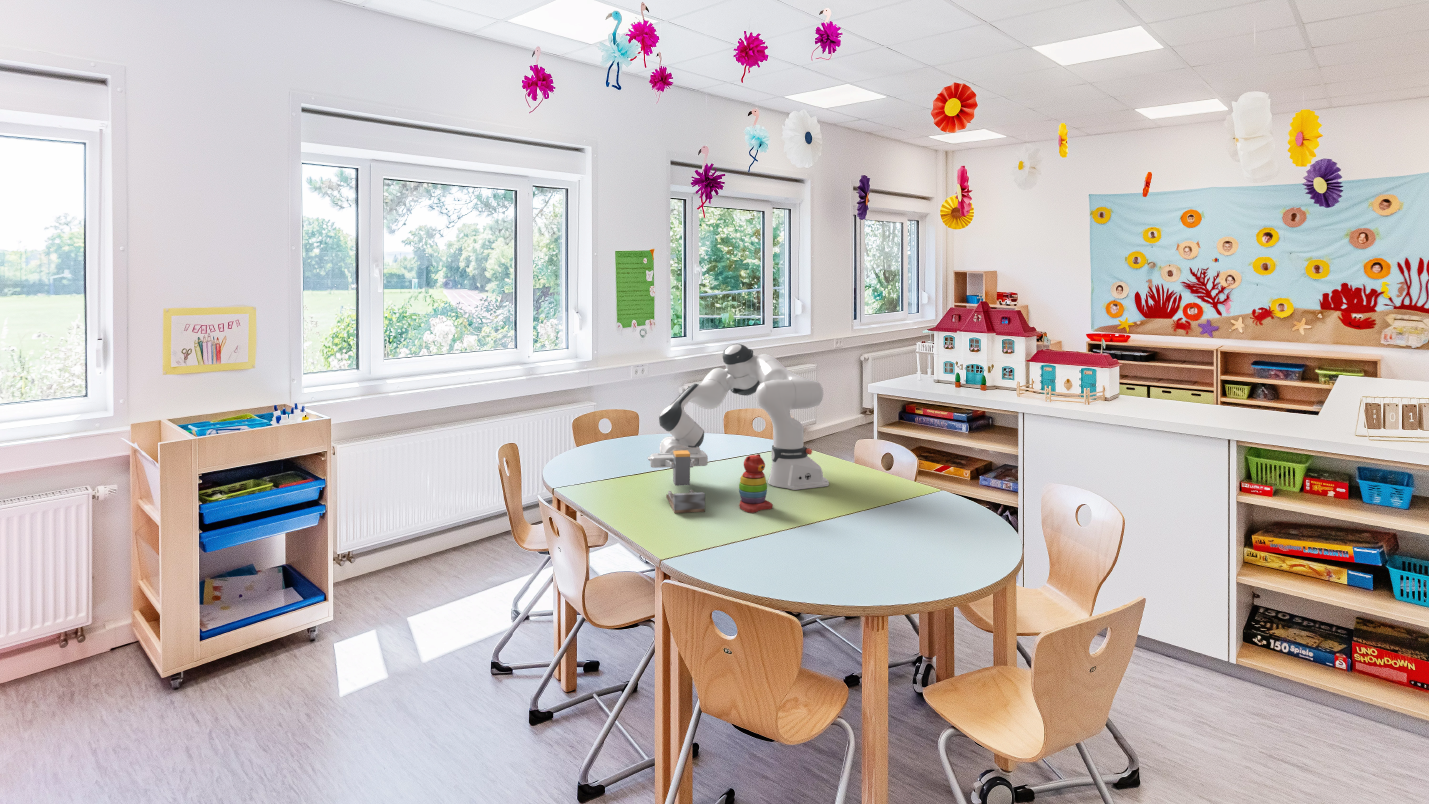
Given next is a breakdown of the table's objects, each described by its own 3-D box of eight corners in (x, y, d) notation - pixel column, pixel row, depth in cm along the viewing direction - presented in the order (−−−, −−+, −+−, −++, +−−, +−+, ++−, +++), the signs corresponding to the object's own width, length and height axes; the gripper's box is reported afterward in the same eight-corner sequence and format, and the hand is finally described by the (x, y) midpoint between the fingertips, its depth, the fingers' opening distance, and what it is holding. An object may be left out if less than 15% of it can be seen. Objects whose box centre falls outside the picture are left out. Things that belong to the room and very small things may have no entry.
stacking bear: (750, 513, 249) (751, 460, 246) (731, 506, 257) (732, 454, 254) (775, 508, 255) (776, 456, 252) (756, 500, 263) (757, 450, 260)
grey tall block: (687, 481, 266) (687, 450, 264) (689, 485, 261) (690, 453, 259) (673, 481, 265) (673, 450, 263) (675, 485, 260) (675, 454, 258)
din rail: (694, 495, 268) (694, 479, 267) (704, 511, 250) (704, 493, 249) (666, 497, 266) (666, 480, 265) (674, 513, 248) (674, 495, 247)
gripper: (646, 448, 272) (651, 457, 258) (703, 446, 276) (711, 455, 263) (646, 465, 273) (651, 475, 259) (703, 463, 277) (710, 473, 264)
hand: (682, 465), depth 261 cm, fingers closed on grey tall block, 5 cm apart
